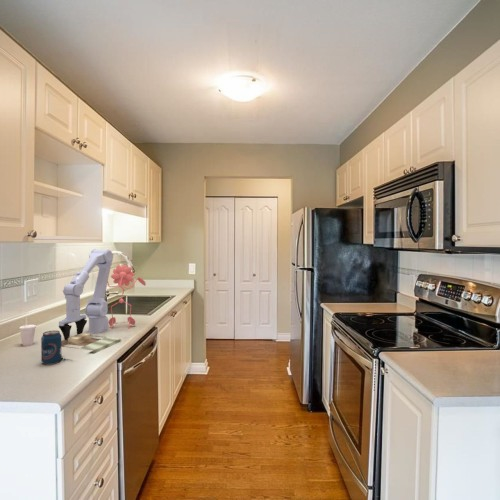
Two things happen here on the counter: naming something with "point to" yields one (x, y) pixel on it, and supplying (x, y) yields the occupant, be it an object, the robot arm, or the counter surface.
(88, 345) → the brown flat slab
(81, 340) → the block
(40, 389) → the counter surface
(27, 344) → the smoothie
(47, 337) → the soda can
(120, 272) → the figurine
